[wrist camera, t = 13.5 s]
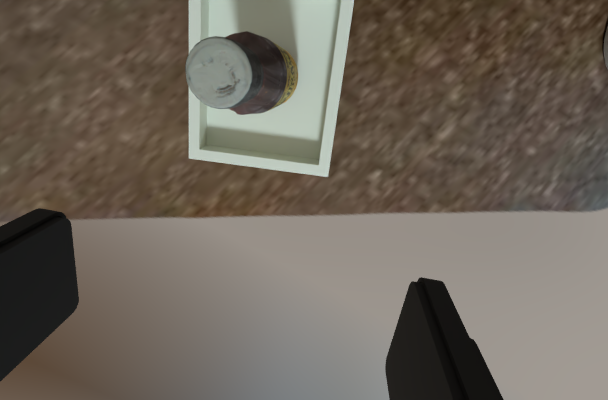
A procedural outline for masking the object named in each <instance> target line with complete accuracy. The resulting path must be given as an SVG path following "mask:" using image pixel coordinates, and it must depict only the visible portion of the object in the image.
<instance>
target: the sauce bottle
mask: <svg viewBox="0 0 608 400" xmlns="http://www.w3.org/2000/svg"><path fill="white" fill-rule="evenodd" d="M186 80H187V83H188V86H189V88H190V90H191V91H192V93H193V94H194V95H195V96H196V97H197V99H199V100H200V101H201V102H202V103H204V104H206V105H207V106H209V107H211V108H212V107H213V108H217V109H230V110H232V111H234V112H236V114H239V115H246V114H259V113H264V112H266V111H269V110H271V109H273V108H275V107H277V106H279V105H281V104H283V103H284V102H286V101H287V100H288V99H289V98H290V97H291V96H292V95H293V93H294V91H295V89H296V87H297V83H298V69H297V65H296V63H295V61H294V59H293V57H292V56H291V55H290V54H289V53H288V52H287V51H286V50H285V49H283V48H282V47H280V46H278V45H277V44H275V43H274V42H272V41H271V40H269V39H267V38H265V37H262V36H259V35H257V34H254V33H251V32H248V31H245V32H240V33H234V34H231V35H229V36H226V37H218V36H215V37H209V38H206V39H203V40H201V41H200V42H198V43H197V44H196V45H195V46H194V48H193V49H192V50H191V51H190V53H189V55H188V58H187V60H186Z"/></svg>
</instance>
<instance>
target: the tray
mask: <svg viewBox="0 0 608 400" xmlns="http://www.w3.org/2000/svg"><path fill="white" fill-rule="evenodd" d="M353 5H354V0H189V53H190V51H191V50H192V49H193V48H194V46H195V45H196V44H197V43H198V42H200V41H201V40H203V39H206V38H209V37H215V36H218V37H226V36H229V35H231V34H234V33H240V32H245V31H248V32H251V33H254V34H257V35H259V36H262V37H265V38H267V39H269V40H271V41H272V42H274V43H275V44H277V45H278V46H280V47H282V48H283V49H285V50H286V51H287V52H288V53H289V54H290V55H291V56H292V57H293V59H294V61H295V63H296V65H297V69H298V83H297V87H296V89H295V91H294V93H293V95H292V96H291V97H290V98H289V99H288V100H287V101H286V102H284V103H283V104H281V105H279V106H277V107H275V108H273V109H271V110H269V111H266V112H264V113H259V114H246V115H239V114H236V112H234V111H232V110H230V109H217V108H213V107H212V108H211V107H209V106H207V105H206V104H204V103H202V102H201V101H200V100H199V99H197V97H196V96H195V95H194V94H193V93H192V91H191V90H190V88H189V158H190V159H198V160H205V161H212V162H220V163H227V164H235V165H242V166H250V167H257V168H265V169H272V170H280V171H287V172H294V173H302V174H309V175H317V176H324V177H328V173H329V166H330V159H331V152H332V146H333V139H334V132H335V126H336V119H337V112H338V105H339V99H340V92H341V85H342V79H343V72H344V65H345V58H346V52H347V45H348V38H349V32H350V25H351V18H352V11H353Z"/></svg>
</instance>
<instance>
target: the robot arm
mask: <svg viewBox="0 0 608 400" xmlns="http://www.w3.org/2000/svg"><path fill="white" fill-rule="evenodd" d="M604 58H605V63H606V66H607V69H608V26H607V30H606V34H605V38H604ZM78 302H79V297H78V287H77V277H76V267H75V258H74V248H73V238H72V228H71V223H70V221H69V220H68V219H66V216H65V215H64V214H63V213H62V212H57V211H52V210H46V209H35V210H33V211H31V212H29V213H27V214H25V215H23V216H21V217H19V218H17V219H15V220H13V221H11V222H9V223H7V224H5V225H3V226H1V227H0V381H1V380H2V379H3V378H4V377H5V376H7V375H8V374H9V373H10V372H11V371H12V370H13V369H14V368H15V367H16V366H17V365H18V364H19V363H20V362H21V361H23V360H24V359H25V358H26V357H27V356H28V355H29V354H30V353H31V352H32V351H33V350H34V349H35V348H36V347H37V346H38V345H39V344H40V343H42V342H43V341H44V340H45V339H46V338H47V337H48V336H49V335H50V334H51V333H52V332H53V331H54V330H55V329H56V328H57V327H58V326H59V325H60V324H62V323H63V322H64V321H65V320H66V319H67V318H68V317H69V316H70V315H71V314H72V313H73V312H74V311H75V309H76V308H77V305H78ZM386 377H387V384H388V391H389V398H390V400H503V398H502V396H501V394H500V392H499V389H498V387H497V385H496V383H495V381H494V379H493V377H492V375H491V373H490V371H489V369H488V367H487V365H486V363H485V361H484V358H483V357H482V354H481V352H480V350H479V348H478V346H477V344H476V343H475V341H474V340H473V339H471V338H469V336H468V333H467V332H466V329H465V327H464V325H463V323H462V321H461V319H460V316H459V314H458V312H457V310H456V308H455V306H454V304H453V301H452V299H451V297H450V295H449V293H448V291H447V289H446V286H445V284H444V283H443V282H442V281H437V280H432V279H427V278H419V279H418V281H417V282H411V283H410V285H409V288H408V292H407V295H406V298H405V301H404V304H403V307H402V311H401V314H400V317H399V320H398V323H397V327H396V330H395V333H394V336H393V339H392V342H391V346H390V349H389V352H388V355H387V359H386Z"/></svg>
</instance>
